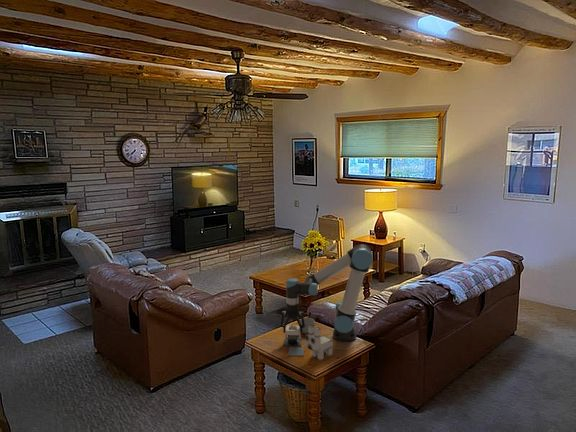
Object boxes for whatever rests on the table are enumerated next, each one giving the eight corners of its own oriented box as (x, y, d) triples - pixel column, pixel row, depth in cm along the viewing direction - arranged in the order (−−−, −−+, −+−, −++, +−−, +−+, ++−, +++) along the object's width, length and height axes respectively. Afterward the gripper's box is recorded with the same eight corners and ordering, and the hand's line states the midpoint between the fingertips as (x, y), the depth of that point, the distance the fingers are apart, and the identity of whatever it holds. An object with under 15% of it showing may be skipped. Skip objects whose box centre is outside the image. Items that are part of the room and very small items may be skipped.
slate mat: (304, 348, 263) (304, 347, 263) (303, 356, 254) (303, 355, 253) (289, 348, 264) (289, 347, 264) (288, 355, 254) (288, 355, 254)
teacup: (313, 335, 282) (313, 324, 280) (297, 334, 284) (297, 323, 283) (316, 327, 295) (316, 316, 294) (300, 326, 297) (300, 315, 296)
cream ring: (299, 330, 274) (299, 325, 273) (298, 335, 266) (298, 330, 266) (287, 329, 275) (287, 325, 274) (286, 335, 267) (285, 330, 266)
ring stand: (302, 339, 276) (301, 322, 275) (301, 347, 266) (300, 329, 264) (285, 338, 277) (285, 322, 276) (283, 346, 267) (283, 329, 265)
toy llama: (335, 353, 256) (335, 322, 253) (314, 363, 245) (314, 330, 242) (326, 349, 262) (325, 318, 259) (305, 359, 250) (305, 326, 247)
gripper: (309, 301, 270) (309, 335, 274) (276, 300, 272) (277, 334, 276) (308, 305, 263) (309, 340, 266) (275, 305, 265) (276, 339, 268)
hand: (293, 337), depth 271 cm, fingers closed on cream ring, 8 cm apart
